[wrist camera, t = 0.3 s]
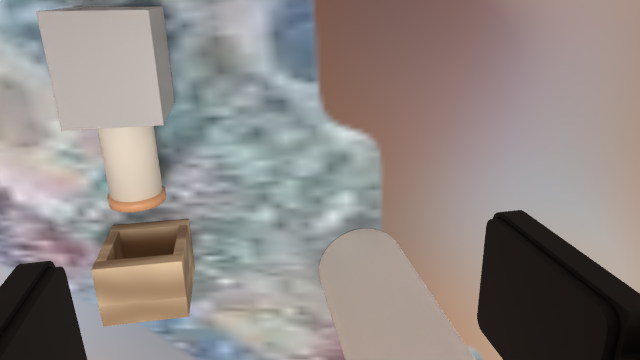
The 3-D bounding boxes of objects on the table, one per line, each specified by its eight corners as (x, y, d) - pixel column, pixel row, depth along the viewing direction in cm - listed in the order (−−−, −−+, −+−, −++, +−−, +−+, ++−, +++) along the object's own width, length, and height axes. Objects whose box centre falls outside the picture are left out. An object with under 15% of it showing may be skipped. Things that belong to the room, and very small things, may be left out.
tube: (83, 14, 37) (65, 18, 33) (145, 13, 38) (135, 16, 34) (115, 192, 43) (103, 214, 39) (169, 188, 44) (162, 209, 39)
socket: (113, 225, 46) (91, 269, 38) (188, 218, 47) (181, 261, 40) (122, 274, 48) (103, 326, 40) (194, 267, 49) (188, 316, 42)
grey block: (72, 7, 39) (36, 11, 31) (163, 6, 40) (148, 9, 32) (90, 105, 42) (61, 130, 34) (174, 102, 43) (163, 125, 35)
